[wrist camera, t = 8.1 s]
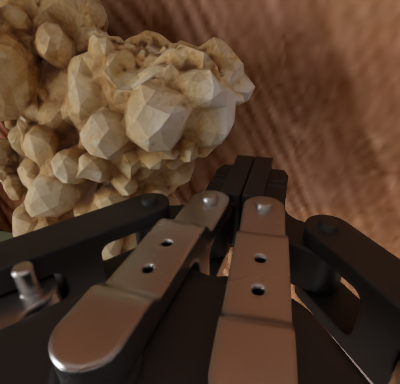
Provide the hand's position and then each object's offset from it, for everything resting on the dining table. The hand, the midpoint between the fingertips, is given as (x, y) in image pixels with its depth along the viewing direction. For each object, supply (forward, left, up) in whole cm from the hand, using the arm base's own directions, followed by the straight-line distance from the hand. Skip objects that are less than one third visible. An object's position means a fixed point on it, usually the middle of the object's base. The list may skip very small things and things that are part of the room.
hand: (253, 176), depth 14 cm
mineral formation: (-9, 0, -4) cm, 9 cm away
